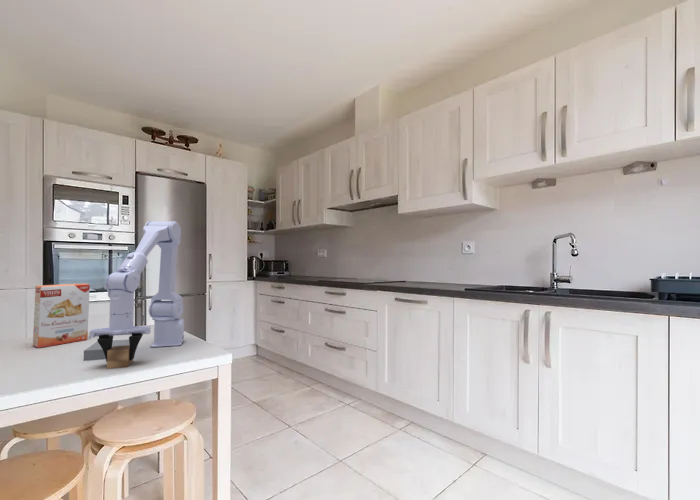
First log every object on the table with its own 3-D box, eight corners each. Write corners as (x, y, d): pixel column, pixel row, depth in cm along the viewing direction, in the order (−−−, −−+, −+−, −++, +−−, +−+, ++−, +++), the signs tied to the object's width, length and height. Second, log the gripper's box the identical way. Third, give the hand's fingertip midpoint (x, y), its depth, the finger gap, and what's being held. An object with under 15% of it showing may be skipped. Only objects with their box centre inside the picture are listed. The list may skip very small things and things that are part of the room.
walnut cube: (132, 361, 98) (133, 344, 98) (127, 367, 94) (128, 349, 94) (113, 363, 97) (113, 346, 97) (106, 368, 92) (107, 350, 92)
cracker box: (38, 348, 110) (40, 286, 110) (32, 346, 113) (34, 285, 113) (88, 340, 121) (90, 283, 122) (81, 337, 125) (83, 282, 125)
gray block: (135, 349, 112) (136, 338, 112) (126, 358, 102) (126, 347, 102) (97, 351, 109) (97, 341, 109) (83, 362, 98) (83, 350, 98)
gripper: (85, 316, 89) (84, 367, 89) (146, 314, 94) (145, 361, 94) (95, 312, 96) (94, 359, 96) (152, 310, 101) (151, 354, 100)
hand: (120, 360), depth 95 cm, fingers closed on walnut cube, 5 cm apart
